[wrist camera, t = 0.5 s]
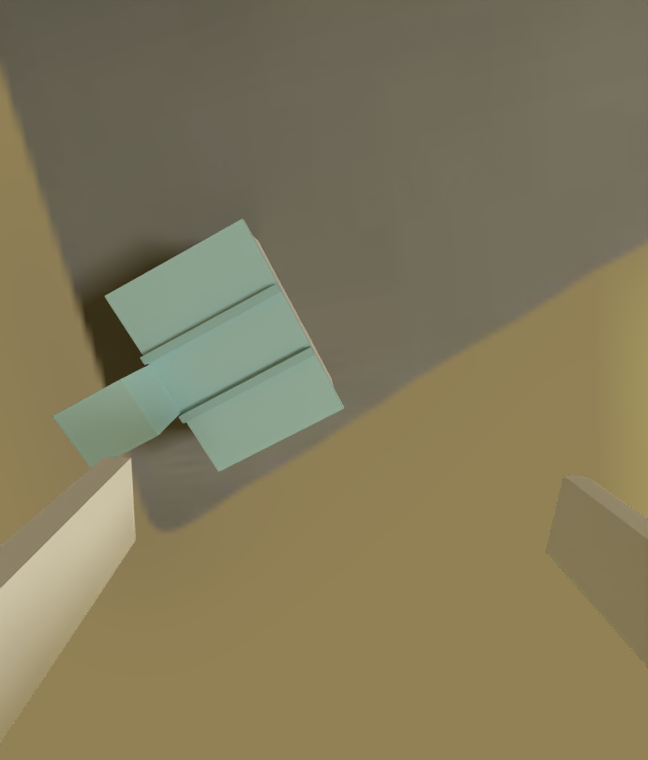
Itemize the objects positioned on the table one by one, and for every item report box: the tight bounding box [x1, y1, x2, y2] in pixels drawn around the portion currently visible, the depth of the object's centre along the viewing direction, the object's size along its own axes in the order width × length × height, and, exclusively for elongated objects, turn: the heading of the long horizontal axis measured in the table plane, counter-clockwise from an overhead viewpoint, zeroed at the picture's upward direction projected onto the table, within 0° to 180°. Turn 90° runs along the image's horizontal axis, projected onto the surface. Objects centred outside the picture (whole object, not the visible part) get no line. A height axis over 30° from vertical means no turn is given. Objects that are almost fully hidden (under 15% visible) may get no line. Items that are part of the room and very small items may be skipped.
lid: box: [52, 219, 344, 472], centre depth 26 cm, size 15×15×6 cm
